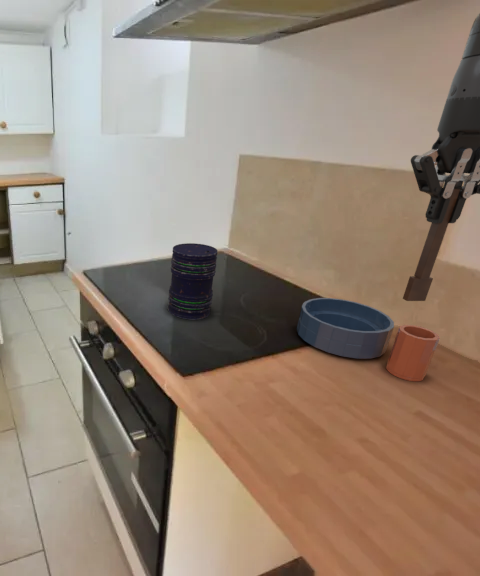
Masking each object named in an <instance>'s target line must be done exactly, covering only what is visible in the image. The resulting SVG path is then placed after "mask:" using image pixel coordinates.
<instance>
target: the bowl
mask: <svg viewBox="0 0 480 576" xmlns="http://www.w3.org/2000/svg"><path fill="white" fill-rule="evenodd" d="M394 328H395V321H394V320H393V319H392V318H391V317H390V316H389V315H387V314H386V313H385V312H383V311H382V310H379V309H377V308H374V307H372V306H369V305H367V304H364V303H360V302H357V301H354V300H353V301H352V300H348V299H343V298H333V297H316V298H311V299H308V300H305V301H304V302H303V303H302V304H301V307H300V313H299V317H298V321H297V325H296V332H297V334H298V336H299V337H300V338H301V339H302V341H304V342H306V343H307V344H309V345H311V346H312V347H314V348H316V349H319V350H321V351H323V352H325V353H328V354H332V355H336V356H340V357H344V358H351V359H357V360H360V359H365V360H366V359H367V360H368V359H375V358H379V357H382V356H383V355H384V354H385V353H386V352H387V349H388V346H389V343H390V340H391V337H392V335H393V331H394Z"/></svg>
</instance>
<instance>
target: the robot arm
mask: <svg viewBox="0 0 480 576" xmlns="http://www.w3.org/2000/svg"><path fill="white" fill-rule="evenodd" d="M436 130H437V131H436V132H437V133H438V138H437V139H436V140H435V142H434V143H433V144H432V146H431V149H430V150H428V151H426V152H424V153H423V154H420V155H419V154H415V155H413V156H411V158H410V164H411V168H412V171H413V174H414V177H415V181H416V184H417V187H418V190H419V192H423V193H425V194H427V195H429V196H430V199H429V203H428V205H427V209H426V211H425V214H424V215H425V218H426V222H428V223H442V222H443V220H444V217H445V214H446V211H447V208H448V205H449V202H450V199H447V198H449V197H450V196H451V195H452V192H453V189H454V188H456V189H460V192H459V195H458V198H457V200H456V203H455V206H454V209H453V211H452V214H451V217H450V220H449V223H448V224H455V223H456V222H457V220H458V219H460V217H461V215H462V212H463V209H464V207H465V204H466V201H467V199H469V198H470V197H472V196H473V195H476V194H478V195H480V12H479V13H478V14H477V16H476V17H475V18H474V21H473V23H472V25H471V27H470V31H469V33H468V37H467V39H466V43H465V47H464V50H463V53H462V56H461V60H460V62H459V65H458V67H457V69H456V71H455V72H454V75H453V78H452V81H451V84H450V87H449V90H448V93H447V96H446V100H445V103H444V107H443V108H442V113H441V115H440V119H439V123H438V125H437V129H436ZM448 174H449V175H448Z"/></svg>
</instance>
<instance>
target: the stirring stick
mask: <svg viewBox="0 0 480 576" xmlns="http://www.w3.org/2000/svg"><path fill="white" fill-rule="evenodd" d="M459 192H460V189H456V188H454V189H453V192H452V195H451V196H450V197H449V198H447V199H450V202H449V205H448V208H447V211H446V214H445V217H444V220H443V222H442V223H432V222H430V226H429V230H428V232H427V236H426V239H425V241H424V245H423V247H422V250H421V253H420V257H419V260H418V263H417V265H416V269H415V272H414V274H413V276H411V275H410V276H409V278H408V281H407V284H406V287H405V290H404V293H403V295H402V300H404V301H406V302H426V299H427V297H428V294H429V291H430V289H431V286H432V283H433V280H434V278H433V277H431V274H432V271H433V269H434V266H435V264H436V260H437V257H438V255H439V252H440V249H441V246H442V243H443V240H444V237H445V234H446V232H447V229H448V226H449V224H450V223H449V220H450V217H451V214H452V211H453V209H454V206H455V203H456V200H457V198H458V195H459Z"/></svg>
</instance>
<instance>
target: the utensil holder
mask: <svg viewBox="0 0 480 576" xmlns="http://www.w3.org/2000/svg"><path fill="white" fill-rule="evenodd" d="M394 338H395V339H394V341H393V344H392V347H391V350H390V353H389V356H388V358H387V362H386V367H385V368H386V370H387V371H388V372H389V373H390V374H391V375H392V376H394V377H397V378H399V379H401V380H405V381H409V382H421V381H423V380H424V378H425V377H426V376H427V372H428V370H429V367H430V365H431V362H432V360H433V357H434V356H435V352H436V350H437V347H438V344H439V342H440V339H441V337H440V335H439V334H438V333H437V332H435V331H433V330H431V329H429V328H426V327H424V326H419V325H414V324H402V325H400V326H399V327H398V329H397V332H396V335H395V337H394Z"/></svg>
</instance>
